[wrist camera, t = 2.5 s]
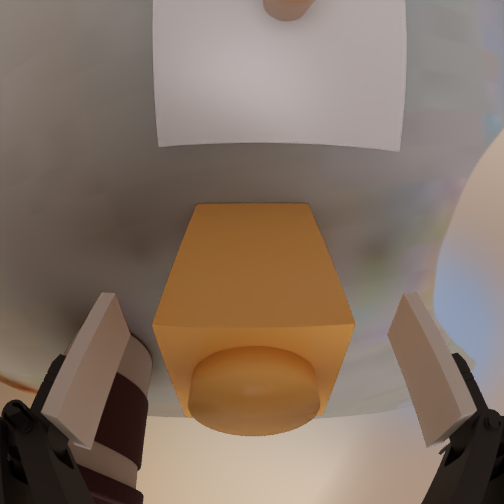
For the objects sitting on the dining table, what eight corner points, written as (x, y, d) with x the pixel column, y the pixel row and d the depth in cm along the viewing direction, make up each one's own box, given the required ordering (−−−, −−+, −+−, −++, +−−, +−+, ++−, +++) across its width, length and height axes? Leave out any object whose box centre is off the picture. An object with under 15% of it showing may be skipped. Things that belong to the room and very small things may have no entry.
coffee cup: (192, 363, 23) (170, 538, 11) (127, 390, 26) (98, 520, 14) (98, 288, 19) (12, 482, 6) (50, 334, 22) (-9, 468, 10)
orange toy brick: (206, 290, 19) (182, 439, 10) (196, 203, 16) (141, 356, 7) (299, 289, 19) (325, 438, 10) (307, 203, 16) (366, 354, 7)
